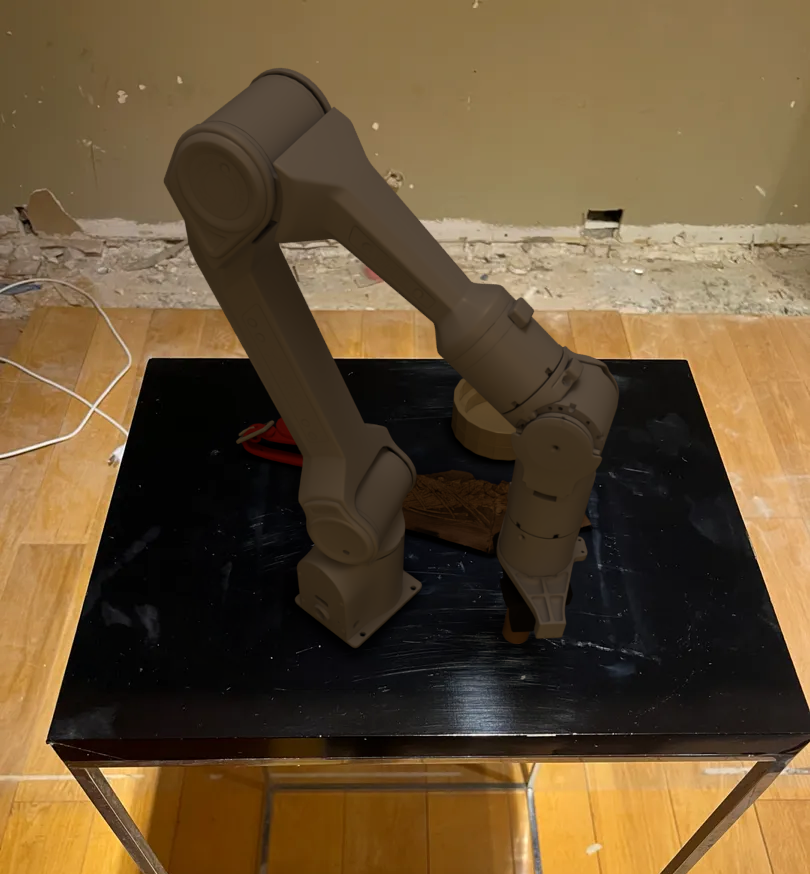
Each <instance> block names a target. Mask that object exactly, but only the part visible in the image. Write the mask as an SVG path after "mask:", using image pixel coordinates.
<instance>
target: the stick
mask: <svg viewBox="0 0 810 874" xmlns="http://www.w3.org/2000/svg"><path fill="white" fill-rule="evenodd" d="M501 633H502V636H503V638H504V639H505V641H507V642H509V643H510V644H514V645H520V644H524V643H525V642H526V641H528V639H529V637H530V634H531V633H530V632H512V630H511V627H510V621H509V608H508V607H506V612H505V616H504V621H503V625H502V630H501Z"/></svg>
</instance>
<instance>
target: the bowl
mask: <svg viewBox="0 0 810 874" xmlns="http://www.w3.org/2000/svg"><path fill="white" fill-rule="evenodd" d="M451 412H452V413H451V425H450V426H451V430H452V432H453V434H454V437H455V438H456V440H458V442H460V444H461V445H462V446H463V447H464V448H466V449H467V450H469V451H470V452H472V453H474V454H476V455H478V456H481V457H484V458H488V459H491V460H498V461H499V460H500V461H515V460H516V458H517V455H516V454H515V452H514V450H513V447H512V442H511V434H512V433H513V432H516V428H515V427H513V426H512V425H511V424H510V423H509V422H508V421H507V420H506V419H505V418H504V417H503V416H502V415H501V414H500V413H499V412H498V411H497V410H496V409H495V408H494V407H493V406H492V405H491V404H490V403H489V402H488V401H486V400H485V399H484V398H483V397H482V396H481V395H480V394H479V393H478V392H477V391H476V390H475V389H474V388H473V387H472V386H471V385H470V384H469V383H468V382H467V381H466V380H465V379H464V378H463V377H462V378H461V379H460V380H459V382H458V383H457V385H456V386H455V388H454V391H453V401H452V411H451Z"/></svg>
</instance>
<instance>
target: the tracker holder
mask: <svg viewBox="0 0 810 874" xmlns="http://www.w3.org/2000/svg"><path fill="white" fill-rule="evenodd" d="M273 425H275V426H273ZM238 437H239V438H238V439H237V440H236V441H235V442H236V444H238V445H239V444H242V447H243V448H244V450H245V451H247V452H248V453H250V454H252V455H253V456H257V457H259V458H263V459H265V460H266V459H267V460H270V461H274V462H278V463H283V464H286V465H292V466H296V467H301V468H302V466H303V455H302V453H296V452H290V451H285V450H281V449H277V448H271V447H268V446H265V445H262V444H259V442H261V441H262V439H264V440H266V441H268V442H274V443H278V444H284V445H293V446H297V444H296V443H295V441H294V439H293V437H292V435H291V433H290V432H289V430H288V428H287V426H286V424H285V423H284V421H283V419H282V417H281V416H280V418H278V419H277V421H276V423H275V421H274V420H269V421H268V422H266V423H253V424H251V425H249V426H248V427H247V428H245V429H243V430H242V431H240V432H239V433H238Z"/></svg>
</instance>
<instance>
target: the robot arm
mask: <svg viewBox="0 0 810 874" xmlns="http://www.w3.org/2000/svg"><path fill="white" fill-rule="evenodd" d="M363 147H364V146H363V145H362V142H361V140H360V137H359V136H358V133H357V131H356V128H355V126H354V124H353V122H352V120H351V119H350V118H349V117H348V116H347V115H345V113H344V112H341V110H339V109H337V108H336V107H335V106H333V107H332V106H331V104H330V102H329V101H328V98H327V97H326V95H325V94H324V92H323V90H322V89H320V87H318V85H317V84H316V83H315V82H313V81H312V80H311V79H310V78H309V77H307V76H306V75H304V74H303V73H301V72H298V71H296V70H293V69H290V68H286V67H276V68H275V67H274V68H270V69H266V70H264V71H262V72H260V73H259V74H258V75H257V76H256V77H254V78H253V79H252V80H251V82H250V84H248V86H247V87H246V88H244V89H243V90H242V91H241V92H239V93H238V94H236V96H234V97H233V98H231V99H230V100H229V101H228V102H227V103H225V104H224V105H222V106H221V107H220V108H219V109H217V110H216V111H215V112H214V113H212V114H211V115H209V116H208V117H207V118H206V119H204V120H203V121H202V122H201V123H196V124H195V125H193V126H192V127H190V128H188V129H187V130H185V132H183V133H182V134H181V136H180V137H179V138H178V139H177V141H176V143H175V145H174V147H173V151H172V154H171V157H170V160H169V163H168V166H167V167H166V168H167V169H166V170H165V171H166V172H165V174H164V178H163V184H164V187H165V188H166V189H167V191H168V194H169V195H170V197H171V199H172V201H173V203H174V205H175V206H176V208H177V210H178V212H179V213H180V216H181V218H182V219H183V222H184V227H185V232H186V237H187V244H188V247H189V251H190V253H191V255H192V257H193V260H194V261H195V263H196V265H197V267H198V269H199V270H200V272H201V274H202V276H203V278H204V279H205V281H206V283H207V285H208V286H209V289H210V290H211V293H212V294H213V296H214V298H215V299H216V302H217V303H218V305H219V307H220V309H221V310H222V312H223V314H224V316H225V318H226V319H227V321H228V323H229V325H230V327H231V328H232V331H233V332H234V334H235V336H236V337H237V339H238V341H239V343H240V345H241V347H242V348H243V351H244V352H245V354H246V356H247V357H248V360H249V362H250V363H251V365H252V366H253V368H254V370H255V372H256V374H257V376H258V378H259V379H260V381H261V383H262V385H263V386H264V389H265V390H266V392H267V393H268V396H269V397H270V399H271V401H272V403H273V404H274V406H275V408H276V410H277V412H278V414H279V416H280V418H281V417H282V419H283V421H284V423H285V424H286V426H287V428H288V430H289V432H290V433H291V435H292V437H293V439H294V441H295V443H296V444H297V445H296V446H297V448H298V450H299V452H300V454H301V455H303V466H302V467H301V473H300V474H301V475H300V482H299V488H298V495H297V496H298V498H297V499H298V503H299V504H300V505H299V506H300V507H301V509H302V510H303V512H304V515H305V518H306V519H305V520H306V521H305V523H306V524H305V526H306V532H307V534H308V536H309V538H310V540H311V541H312V543H314V544H313V546H312V548H310V550H309V551H308V553H307V554H306V555H305V556H304V557H302V558H301V559H300V560H299V561H298V563H297V566H296V573H297V583H298V589H299V590H298V591H299V592H298V594H297V595H296V596H295V597H294V602H295V604H296V605H297V606H298V607H299V608H301V609H302V610H304V611H305V612H306V613H307V614H309V615H310V616H311V617H312V618H314V619H315V620H316V621H318V622H319V623H320V624H322V625H323V626H324V627H325V628H327V629H328V630H329V631H331V633H333V634H334V635H336V636H337V637H338V638H340V639H341V640H342V641H343V642H345V643H346V644H347V645H348V646H350V647H351V648H354V649H357V648H359V647H360V646H362V644H364V643H365V642H366V641H368V639H369V638H370V637H372V635H373V634H374V633H376V632H377V631H378V630H379V629H380V628H381V627H382V626H383V625H385V623H387V622H388V620H390V619H391V618H392V617H393V616H394V615H396V613H397V612H398V611H399V610H401V609H402V608H403V607H404V606H405V605H406V604H407V603H409V601H410V600H412V599H413V598H414V597H415V596H416V595H417V594H418V593H419V592H420V591H421V590H422V588H423V584H422V582H421V581H419V580H418V579H416V578H415V577H414V576H412V575H411V574H410V573H408V572H407V571H405V570H404V560H405V559H404V557H405V534H406V533H405V532H406V529H405V521H404V516H403V512H402V503H403V501H404V499H405V498H406V496H407V494H408V493H409V492H410V491H411V490H412V489H413V487H414V485H415V483H416V474H417V470H416V467H415V465H414V463H413V461H412V460H411V458H410V457H409V456H408V455H407V454H406V453H405V451H403V450H402V449H401V448H400V447H399V446H398V445H397V444H396V443H395V441H394V440H393V438H392V436H391V434H390V432H389V430H388V428H387V427H386V426H383V425H378V424H374V423H365V422H364V420H363V418H362V416H361V413H360V411H359V409H358V406H357V405H356V403H355V401H354V398H353V396H352V395H351V392H350V390H349V388H348V386H347V384H346V382H345V380H344V378H343V376H342V374H341V371H340V369H339V368H338V365H337V363H336V361H335V359H334V357H333V354H332V352H331V351H330V348H329V346H328V344H327V341H326V340H325V338H324V336H323V333H322V332H321V330H320V328H319V325H318V323H317V321H316V319H315V317H314V315H313V313H312V311H311V309H310V307H309V304H308V302H307V300H306V298H305V296H304V294H303V291H302V290H301V288H300V286H299V284H298V282H297V280H296V277H295V275H294V273H293V271H292V269H291V267H290V265H289V263H288V261H287V258H286V257H285V254H284V252H283V250H282V248H281V245H280V244H290V243H303V242H304V243H305V242H315V241H328V240H329V241H331V240H332V241H336V243H339V244H340V245H341V246H342V247H343V248H344V249H346V250H347V251H348V252H349V253H350V254H352V255H353V256H354V257H355V258H356V259H357V260H359V261H360V262H361V263H362V264H363V265H364V266H365V267H367V268H368V269H369V270H370V271H371V272H373V273H374V274H375V275H376V276H377V277H379V278H380V279H381V280H382V281H383V282H384V283H386V284H387V285H388V286H389V287H390V288H392V289H393V290H394V291H395V292H396V293H397V294H399V296H401V297H402V298H403V299H404V300H405V301H406V302H408V303H409V304H410V305H411V306H412V307H414V308H415V309H416V310H418V312H420V313H421V314H422V315H423V316H425V317H426V319H428V320H429V321H430V322H432V323H433V326H434V333H435V345H436V346H435V347H436V352H437V354H438V356H440V358H442V359H443V360H444V361H445V362H446V363H447V364H448V366H450V367H451V368H452V369H453V370H454V371H455V372H456V373H457V374H458V375H460V377H462V379H463V378H464V379H465V380H466V381H467V382H468V383H469V384H470V385H471V386H472V387H473V388H474V389H475V390H476V391H477V392H478V393H479V394H480V395H481V396H482V397H483V398H484V399H485V400H486V401H488V402H489V403H490V404H491V405H492V406H493V407H494V408H495V409H496V410H497V411H498V412H499V413H500V414H501V415H502V416H503V417H504V418H505V419H506V420H507V421H508V422H509V423H510V424H511V425H512V426H513V427H515V428H516V432H513V433H512V434H511V442H512V447H513V450H514V452H515V454H516V455H517V458H516V460H514V466H513V471H512V477H511V481H509V482H510V484H509V490H508V495H507V500H508V503H507V508H506V513H505V517H504V520H503V524H502V527H501V531H500V532H497V533H496V534H495V535H494V536H493V539H492V542H493V547H494V553H493V554H494V556H495V557H496V559H497V560H498V563H499V565H500V567H501V572H502V577H501V578H499V585H500V591H501V596H502V600H503V602H504V605H505V607H506V608H507V607H508V608H509V621H510V627H511V630H512V632H534V636H535V639H556V638H557V639H558V638H563V635H564V632H565V629H566V625H567V620H566V607H567V606H570V604H571V602H572V600H573V596H574V594H573V588H572V585H571V584H572V583H571V576H572V572H573V566H574V564H575V563H576V562H583V561H586V559H587V556H588V549H587V546H586V542H585V540H584V538H583V537H582V536H579V534H580V530H581V528H582V527H581V524H582V521H583V518H584V514H585V515H586V511H587V507H588V504H589V500H590V497H591V493H592V491H593V486H594V484H595V480H596V476H597V469H598V467H600V465H601V463H602V461H603V457H602V453H603V450H604V447H605V444H606V442H607V438H608V436H609V432H610V430H611V427H612V424H613V421H614V417H615V415H616V412H617V410H618V404H619V399H620V389H619V386H618V382H617V380H616V377H614V375H613V374H612V372H611V371H610V369H609V367H608V365H607V364H606V363H605V362H603V361H601V360H599V359H598V358H596V357H593V356H590V355H587V354H582V353H577V352H574V351H572V350H571V349H570V348H569V347H568V346H566V345H564V346H562V345H561V344H559V343H558V342H557V341H556V340H555V339H554V338H553V337H552V335H551V334H549V333H548V331H547V330H546V329H545V328H544V327H543V326H542V325H541V324H540V323H539V322H538V321H537V320H536V319H535V318H534V317H533V316H534V313H535V309H534V308H533V307H532V306H531V305H530V304H529V302H527V301H526V299H524V297H518V298H517V299H516V298H515V297H514V296H513V295H512V294H511V293H510V292H509V290H507V289H506V288H505V287H504V286H503V285H501V284H497V283H482V282H481V283H480V282H474V281H472V280H471V279H470V278H469V277H468V275H467V274H466V273H465V272H464V271H463V270H462V269H461V267H460V266H459V265H458V264H457V263H456V261H455V260H454V259H453V258H452V257H451V256H450V254H448V253H447V251H446V250H445V248H444V247H443V246H442V245H441V244H440V243H439V242H438V240H437V239H436V238H435V237H434V236H433V235H432V233H431V232H430V231H429V230H428V229H427V228H426V227H425V225H424V224H423V223H422V221H420V219H419V218H418V217H417V216H416V214H414V212H413V211H412V210H411V209H410V208H409V206H408V205H407V204H406V203H405V201H403V200H402V199H401V197H400V195H398V194H397V192H396V191H395V190H394V189H393V188H392V187H391V185H390V184H389V183H388V182H387V180H385V178H384V177H383V176H382V175H381V173H379V171H378V170H377V169H376V167H375V166H374V165H373V164H372V163H371V161H370V160H369V158H368V156H367V154H366V152H365V150H364V148H363ZM362 635H364V636H362Z"/></svg>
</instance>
